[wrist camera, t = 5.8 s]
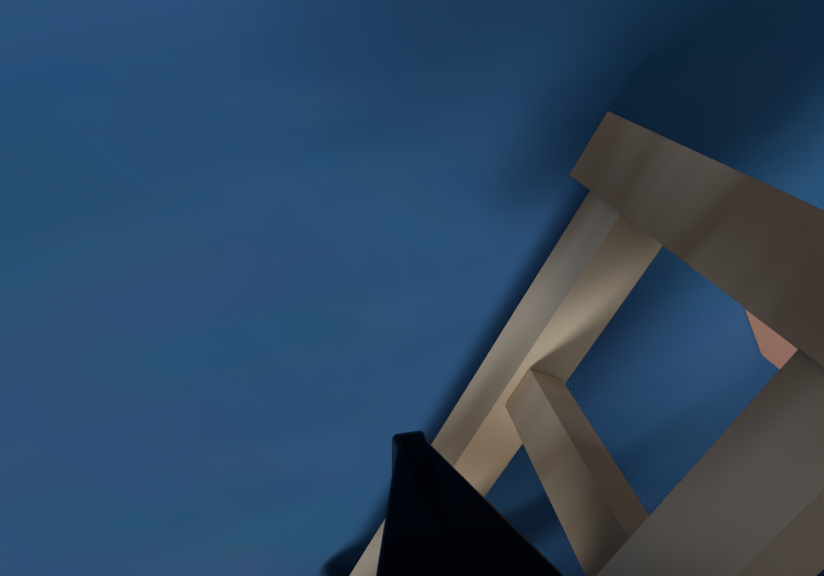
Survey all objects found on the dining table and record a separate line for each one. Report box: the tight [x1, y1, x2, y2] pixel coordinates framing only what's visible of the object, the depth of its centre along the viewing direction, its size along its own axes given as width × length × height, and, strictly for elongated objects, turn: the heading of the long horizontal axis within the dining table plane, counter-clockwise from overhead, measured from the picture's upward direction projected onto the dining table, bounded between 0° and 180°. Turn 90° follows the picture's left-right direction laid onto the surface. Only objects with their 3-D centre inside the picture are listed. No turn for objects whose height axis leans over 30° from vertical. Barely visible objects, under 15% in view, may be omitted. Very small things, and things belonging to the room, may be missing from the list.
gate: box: [350, 111, 824, 576], centre depth 11 cm, size 17×2×8 cm, turn 154°
